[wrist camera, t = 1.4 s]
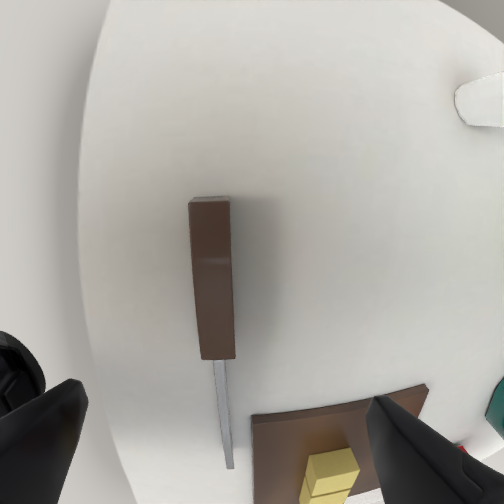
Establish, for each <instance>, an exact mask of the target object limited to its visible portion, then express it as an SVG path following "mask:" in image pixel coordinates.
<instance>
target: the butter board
mask: <svg viewBox="0 0 504 504" xmlns="http://www.w3.org/2000/svg"><path fill="white" fill-rule="evenodd" d="M428 392H429V389H428V388H427V387H426V385H425V384H423V385H419V386H416V387H413V388H409V389H405V390H402V391H398V392H394V393H390V394H386V395H387V396H389V397H390V398H391V399H393V400H394V401H395V402H397V403H398V404H399V405H401V406H402V407H403V408H405V409H406V410H407V411H409V412H410V413H411V414H413V415H414V416H416V417H417V418H418V416H419V414H420V411H421V409H422V407H423V404H424V402H425V399H426V397H427V395H428ZM371 400H372V398H369V399H365V400H360V401H355V402H350V403H345V404H340V405H334V406H328V407H322V408H316V409H309V410H302V411H294V412H286V413H276V414H266V415H254V416H251V424H252V463H253V500H254V504H300V503H299V497H300V493H301V489H302V485H303V481H304V477H305V476H306V475H305V473H306V468H307V464H308V459H309V455H314V454H320V453H325V452H330V451H335V450H340V449H345V448H349V447H350V448H351V450H352V452H353V455H354V457H355V459H356V462H357V464H358V466H359V468H360V471H359V473H358V476H357V478H356V480H355V482H354V484H353V486H352V487H351V488H350V489H351V490H350V492H349V494H348V496H347V497H349V496H353V495H357V494H360V493H364V492H367V491H371V490H374V489H377V488H380V484H379V481H378V477H377V474H376V470H375V467H374V463H373V459H372V454H371V448H370V442H369V436H368V431H367V425H366V418H365V417H366V412H367V410H368V407H369V405H370V403H371Z"/></svg>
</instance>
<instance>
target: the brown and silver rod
mask: <svg viewBox="0 0 504 504" xmlns="http://www.w3.org/2000/svg"><path fill="white" fill-rule="evenodd" d="M188 209H189V228H190V244H191V259H192V272H193V284H194V295H195V306H196V316H197V326H198V335H199V344H200V353H201V359H202V360H213V362H214V371H215V381H216V390H217V399H218V407H219V416H220V424H221V432H222V439H223V447H224V454H225V461H226V468H227V469H234V462H233V448H232V438H231V428H230V417H229V406H228V395H227V383H226V370H225V359H235V357H236V355H235V335H234V313H233V290H232V263H231V233H230V201H229V197H228V196H217V197H194V198H193V199H192V200H191V201H190V202H189V203H188Z"/></svg>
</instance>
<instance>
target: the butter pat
mask: <svg viewBox="0 0 504 504" xmlns="http://www.w3.org/2000/svg"><path fill="white" fill-rule="evenodd" d="M359 471H360V468H359V466H358V464H357V462H356V459H355V457H354V455H353V452H352V450H351V448H350V447H349V448H345V449H340V450H335V451H330V452H325V453H320V454H314V455H309V459H308V464H307V468H306V473H305V475H306V478H307V482H308V485H309V489H310V493H311V496H316V495H321V494H326V493H330V492H335V491H339V490H343V489H348V488H351V487H352V486H353V484H354V482H355V480H356V478H357V476H358V473H359Z"/></svg>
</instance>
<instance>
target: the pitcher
mask: <svg viewBox="0 0 504 504" xmlns="http://www.w3.org/2000/svg"><path fill="white" fill-rule="evenodd" d="M486 420H487V421H488V422H489V423H490V424H491V426H492V427H493V428H494V429H495V430H496V431H497V432H498V434H499V435H500V436H501V437H502V438H503V439H504V379H503V380H502V381H501V382H500V383H499V385H498V386H497V388H496V390H495V392H494V395H493V398H492V400H491V403H490V405H489V408H488V410H487V413H486Z"/></svg>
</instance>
